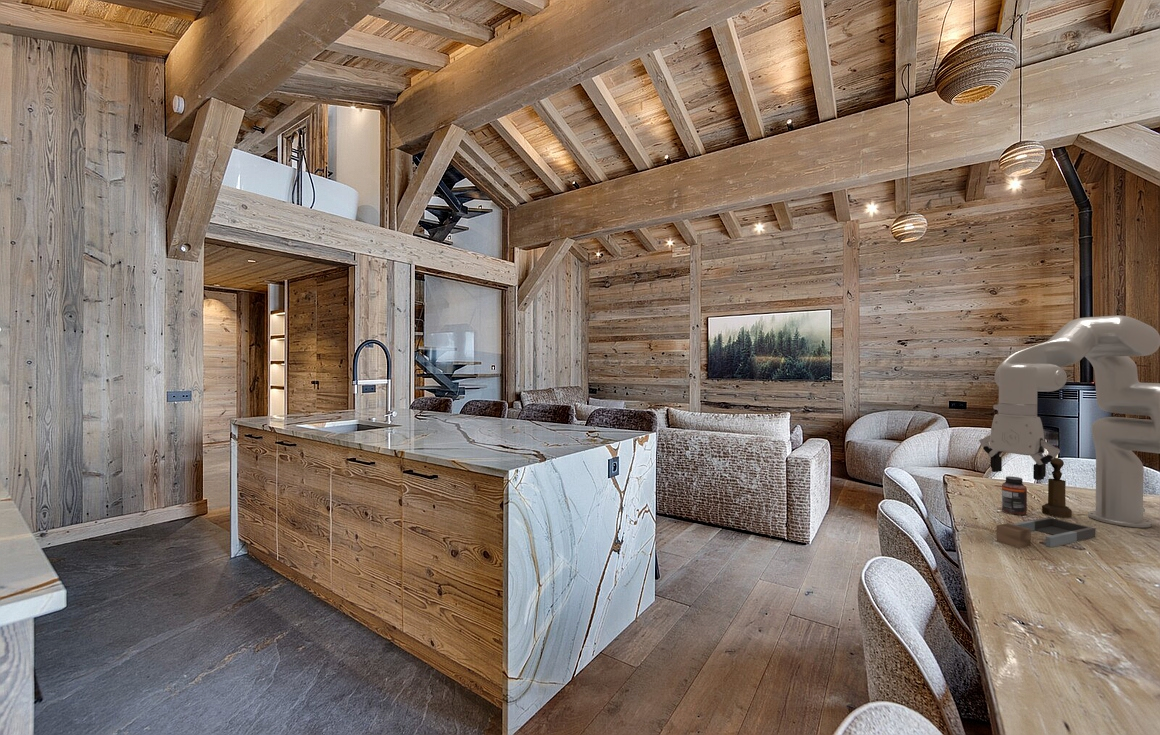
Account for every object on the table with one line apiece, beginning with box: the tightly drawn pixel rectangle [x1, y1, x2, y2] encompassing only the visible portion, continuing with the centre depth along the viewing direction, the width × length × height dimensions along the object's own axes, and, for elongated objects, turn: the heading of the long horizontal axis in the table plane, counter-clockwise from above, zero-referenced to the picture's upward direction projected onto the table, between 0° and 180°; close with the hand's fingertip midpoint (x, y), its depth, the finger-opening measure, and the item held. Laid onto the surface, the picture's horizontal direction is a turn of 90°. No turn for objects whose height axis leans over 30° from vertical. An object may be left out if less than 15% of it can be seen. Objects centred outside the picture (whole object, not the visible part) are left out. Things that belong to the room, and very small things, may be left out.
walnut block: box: [995, 522, 1032, 549], centre depth 124 cm, size 5×5×4 cm
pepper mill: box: [1041, 457, 1073, 519], centre depth 148 cm, size 7×6×18 cm
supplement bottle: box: [1001, 475, 1028, 516], centre depth 150 cm, size 6×6×11 cm
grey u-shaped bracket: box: [1012, 516, 1097, 549], centre depth 130 cm, size 21×10×2 cm, turn 110°
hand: (1016, 475), depth 125 cm, fingers open, 8 cm apart
